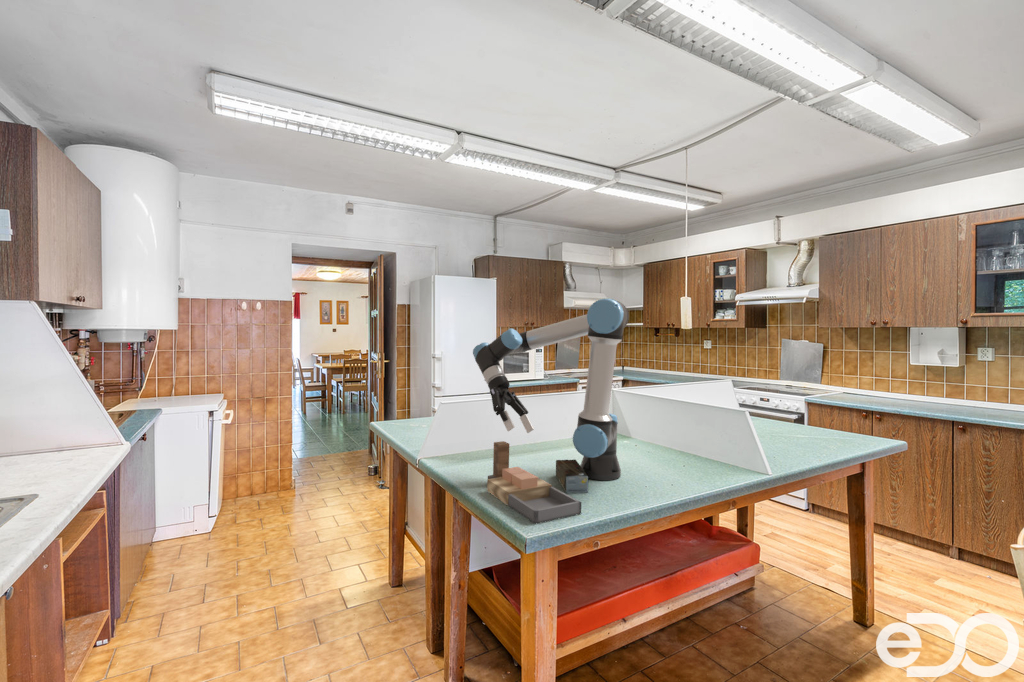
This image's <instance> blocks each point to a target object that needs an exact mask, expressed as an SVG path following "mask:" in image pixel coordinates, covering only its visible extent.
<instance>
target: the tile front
mask: <svg viewBox="0 0 1024 682" xmlns="http://www.w3.org/2000/svg"><path fill="white" fill-rule="evenodd" d="M538 478H539V477H538V476H537V475H534V473H531V472H530V471H527V472H524V473H517V474H512V484H513V485H515V486H517V487H518V488H520V489H526V488H531V487H537V486H538Z"/></svg>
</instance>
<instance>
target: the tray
mask: <svg viewBox="0 0 1024 682" xmlns="http://www.w3.org/2000/svg"><path fill="white" fill-rule="evenodd" d="M507 506H508V507H510V508H511V509H513V510H514V511H516V513H518V514H520V515H521V516H522V517H524V518H526V519H527V520H528V519H529V521H530V522H531V521H532V522H531V523H533V524H534V523H535V524H534V525H536V523H537V524H541V523H540V522H542V523H546V522H550V521H549V520H551V521H554V520H553V519H556V520H559V519H558V518H560V519H563V518H562V517H565V518H568V517H567V516H569V517H572V516H571V515H574V516H577V515H576V514H578V515H581V514H582V501H580V500H579V499H577V498H576V497H575V498H574V497H573V496H571V495H569V494H568V493H566V492H563V491H562V490H561V489H560V490H559V489H558V488H555V487H554V486H552V487H550V494H549V497H544V498H539V499H533V500H528V501H522V500H520V499H519V498H517V497H516V496H514V495H513V494H509V502H508V505H507ZM580 513H581V514H580ZM545 521H546V522H545Z"/></svg>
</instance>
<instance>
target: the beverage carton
mask: <svg viewBox="0 0 1024 682" xmlns="http://www.w3.org/2000/svg"><path fill="white" fill-rule="evenodd" d="M580 465H581V464H580V463H579V462H578V461H577V460H576V459H556V460H555V475H556V479H557V480H558V481H559V483H560V485H561V486H562V488H563V490H564V492H565V491H566V492H565V494H588V493H589V478H588V476H587V474H586V473H585V472H584V470H583V469H582V467H581V466H580Z"/></svg>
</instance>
